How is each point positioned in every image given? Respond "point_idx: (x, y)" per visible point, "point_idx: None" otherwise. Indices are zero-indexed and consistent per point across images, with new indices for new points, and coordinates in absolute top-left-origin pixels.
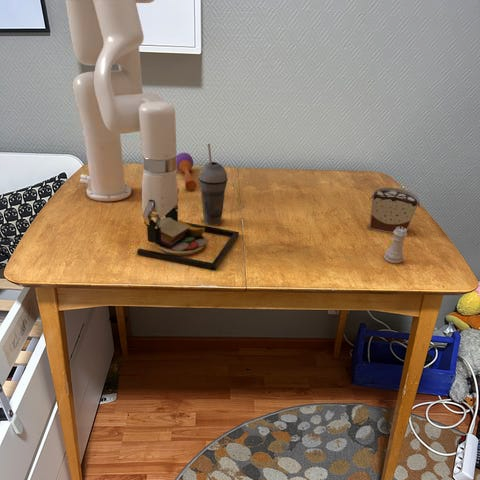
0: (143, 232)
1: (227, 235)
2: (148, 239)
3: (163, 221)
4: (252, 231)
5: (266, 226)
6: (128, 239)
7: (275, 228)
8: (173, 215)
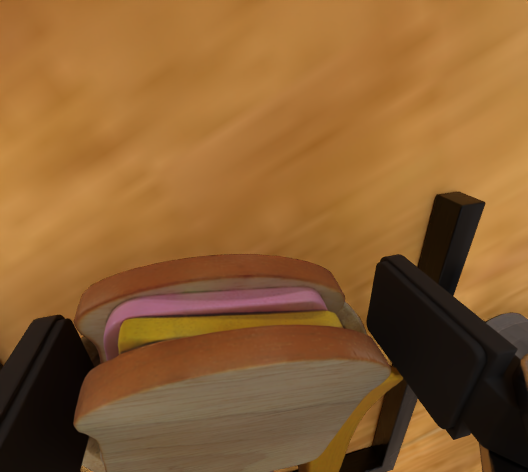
0: (275, 86)
1: (376, 435)
2: (32, 331)
3: (291, 389)
4: (424, 450)
5: (462, 452)
6: (59, 13)
7: (451, 468)
8: (424, 385)
